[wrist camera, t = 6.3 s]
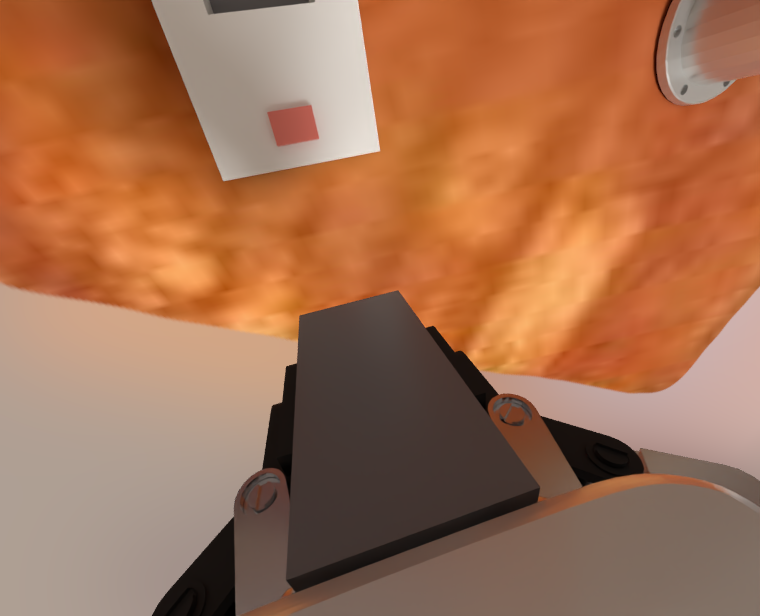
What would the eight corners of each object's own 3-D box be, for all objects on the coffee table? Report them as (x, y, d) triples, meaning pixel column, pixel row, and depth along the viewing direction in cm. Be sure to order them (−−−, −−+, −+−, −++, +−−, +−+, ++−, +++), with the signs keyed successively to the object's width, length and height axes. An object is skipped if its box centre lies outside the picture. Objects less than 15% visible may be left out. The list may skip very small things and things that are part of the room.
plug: (398, 290, 13) (539, 487, 5) (409, 366, 15) (521, 586, 7) (299, 315, 12) (285, 580, 4) (326, 390, 14) (348, 657, 7)
